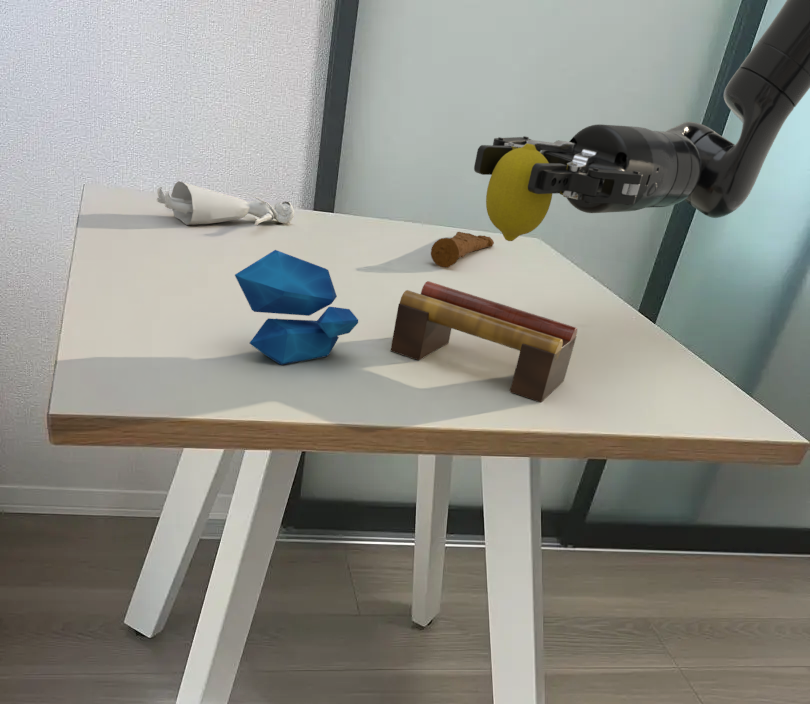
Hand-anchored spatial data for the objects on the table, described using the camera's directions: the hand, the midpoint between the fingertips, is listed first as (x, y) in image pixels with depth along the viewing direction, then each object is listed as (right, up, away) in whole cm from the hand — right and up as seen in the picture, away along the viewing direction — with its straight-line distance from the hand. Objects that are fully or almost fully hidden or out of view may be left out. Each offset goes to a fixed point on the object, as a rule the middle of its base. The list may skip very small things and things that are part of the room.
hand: (506, 169), depth 73 cm
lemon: (+1, -5, +5) cm, 7 cm away
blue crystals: (-18, -15, +4) cm, 24 cm away
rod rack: (-1, -14, +10) cm, 17 cm away
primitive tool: (-1, +8, +46) cm, 46 cm away
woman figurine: (-30, +9, +38) cm, 49 cm away
